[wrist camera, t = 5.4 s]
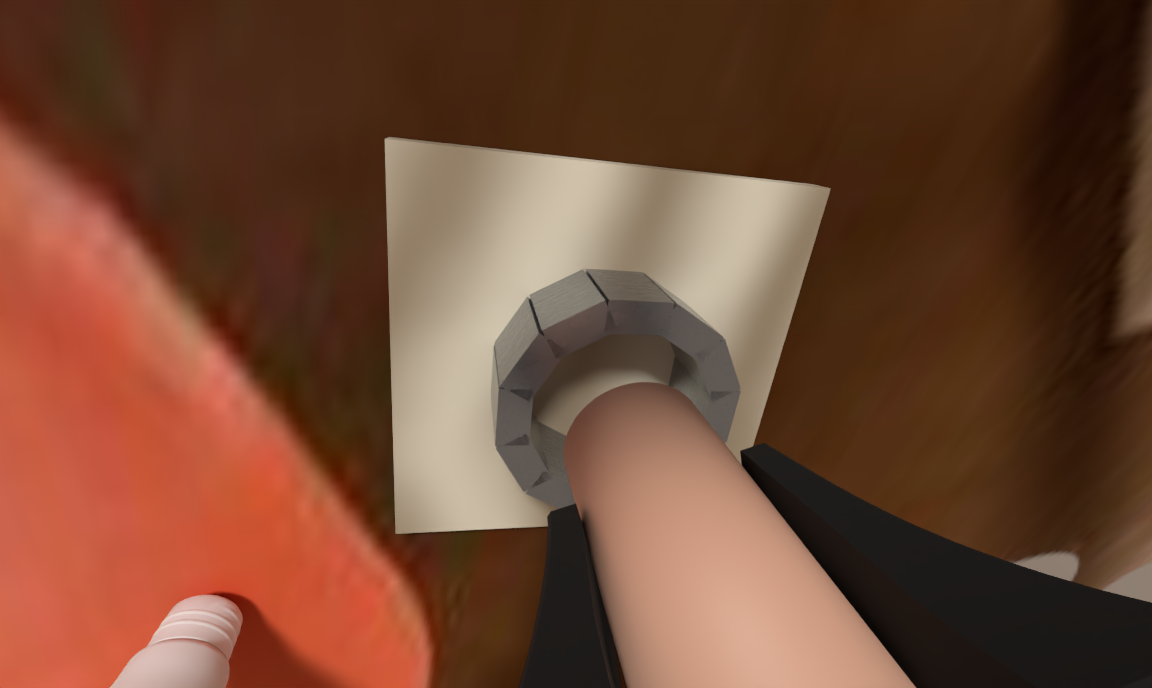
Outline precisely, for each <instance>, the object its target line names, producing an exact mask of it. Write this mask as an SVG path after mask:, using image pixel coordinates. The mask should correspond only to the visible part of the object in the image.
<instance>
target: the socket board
mask: <svg viewBox="0 0 1152 688" xmlns="http://www.w3.org/2000/svg"><path fill="white" fill-rule="evenodd" d="M385 165H386V202H387V238H388V274H389V310H390V346H391V382H392V419H393V455H394V491H395V527H396V534H401V533H421V532H442V531H462V530H482V529H502V528H522V527H542V526H548V521H547V516H548V515H549V513H550V512H551V511H553V510H557V509H560V508H563V507H566V506H569V505H572V504H575V500H574V496H573V493H572V489H571V486H570V482H569V478H568V475H567V471H566V468H565V463H564V443H565V439H566V436H567V433H568V431H569V428H570V426H571V425H572V423H573V421H574V419H575V418H576V417H577V416H578V414H579V413H580V412H581V411H582V410H583V409H584V408H585V407H586V405H588V404H589V403H590V402H591V401H592V400H594V399H595V398H597V397H598V396H600V395H601V394H603V393H605V392H607V391H609V390H611V389H613V388H616V387H619V386H621V385H626V384H630V383H637V382H654V383H660V384H664V385H668V386H670V387H673V388H675V389H677V390H679V391H680V392H682V393H683V394H684V395H686V396H687V397H688V398H689V399H690V400H691V401H692V403H693V404H694V405H695V406H696V407H697V409H698V410H699V411H700V413H701V414H702V415H703V416H704V418H705V419H706V420H707V422H708V423H709V424H710V425H711V427H712V428H713V429H714V430H715V432H716V433H717V434H718V436H719V437H720V438H721V439H722V441H723V442H724V443H725V444H726V446H727V447H728V448H729V450H730V451H731V452H732V453H733V455H734V456H735V457H736V459H737V460H738V461H739V462H740V464H741V454H740V451H741V450H744V449H747V448H750V447H753V444H754V440H755V437H756V434H757V431H758V427H759V424H760V421H761V417H762V414H763V411H764V407H765V404H766V401H767V397H768V394H769V391H770V388H771V384H772V381H773V378H774V374H775V371H776V368H777V364H778V361H779V358H780V354H781V351H782V348H783V344H784V341H785V338H786V335H787V331H788V328H789V325H790V321H791V318H792V315H793V311H794V308H795V305H796V301H797V298H798V295H799V292H800V288H801V285H802V282H803V278H804V275H805V272H806V268H807V265H808V262H809V258H810V255H811V252H812V248H813V245H814V242H815V239H816V235H817V232H818V229H819V225H820V222H821V219H822V215H823V212H824V209H825V205H826V202H827V199H828V196H829V192H830V189H831V188H827V187H822V186H818V185H813V184H805V183H796V182H788V181H779V180H770V179H761V178H752V177H743V176H734V175H725V174H716V173H707V172H698V171H689V170H680V169H671V168H662V167H653V166H644V165H635V164H626V163H618V162H609V161H600V160H591V159H582V158H573V157H564V156H555V155H546V154H537V153H528V152H519V151H510V150H501V149H492V148H483V147H474V146H465V145H456V144H448V143H439V142H430V141H421V140H412V139H403V138H394V137H388V138H386V139H385ZM741 465H742V464H741Z"/></svg>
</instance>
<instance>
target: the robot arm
mask: <svg viewBox="0 0 1152 688" xmlns="http://www.w3.org/2000/svg"><path fill="white" fill-rule="evenodd" d="M740 454H741V464H742V466H743V467H744V469H745V470H746V471H747V473H748V474H749V475H750V476H751V478H752V479H753V480H754V481H755V483H756V484H757V485H758V487H759V488H760V489H761V490H762V492H763V493H764V494H765V496H766V497H767V498H768V499H769V501H770V502H771V503H772V504H773V506H774V507H775V508H776V510H777V511H778V512H779V513H780V515H781V516H782V517H783V518H784V520H785V521H786V522H787V524H788V525H789V526H790V527H791V529H792V530H793V531H794V533H795V534H796V535H797V536H798V538H799V539H800V540H801V541H802V543H803V544H804V545H805V547H806V548H807V549H808V550H809V552H810V553H811V554H812V556H813V557H814V558H815V559H816V561H817V562H818V563H819V564H820V566H821V567H822V568H823V570H824V571H825V572H826V573H827V575H828V576H829V577H830V578H831V580H832V581H833V582H834V584H835V585H836V586H837V587H838V589H839V590H840V591H841V593H842V594H843V595H844V596H845V598H846V599H847V600H848V601H849V603H850V604H851V605H852V607H853V608H854V609H855V610H856V612H857V613H858V614H859V615H860V617H861V618H862V619H863V621H864V622H865V623H866V624H867V626H868V627H869V628H870V630H871V631H872V632H873V633H874V635H875V636H876V637H877V638H878V640H879V641H880V642H881V644H882V645H883V646H884V647H885V649H886V650H887V651H888V652H889V654H890V655H891V656H892V658H893V659H894V660H895V661H896V663H897V664H898V665H899V667H900V668H901V669H902V670H903V672H904V673H905V674H906V675H907V677H908V678H909V679H910V681H911V682H912V683H913V684H914V686H915V687H916V688H1152V603H1151V602H1147V601H1142V600H1138V599H1134V598H1130V597H1126V596H1122V595H1118V594H1114V593H1110V592H1106V591H1102V590H1099V589H1095V588H1091V587H1088V586H1084V585H1081V584H1078V583H1074V582H1071V581H1067V580H1064V579H1061V578H1057V577H1054V576H1050V575H1047V574H1044V573H1041V572H1038V571H1035V570H1031V569H1028V568H1025V567H1022V566H1019V565H1016V564H1013V563H1010V562H1008V561H1005V560H1002V559H999V558H996V557H994V556H991V555H988V554H985V553H982V552H979V551H977V550H974V549H971V548H969V547H966V546H964V545H961V544H958V543H956V542H953V541H951V540H948V539H946V538H944V537H941V536H939V535H937V534H934V533H932V532H930V531H927V530H925V529H922V528H920V527H918V526H915V525H913V524H911V523H909V522H907V521H904V520H902V519H900V518H898V517H896V516H894V515H892V514H890V513H888V512H886V511H884V510H882V509H880V508H878V507H876V506H874V505H872V504H870V503H868V502H866V501H864V500H862V499H860V498H858V497H856V496H855V495H853V494H851V493H849V492H847V491H845V490H844V489H842V488H840V487H838V486H836V485H835V484H833V483H831V482H829V481H828V480H826V479H824V478H822V477H821V476H819V475H817V474H815V473H814V472H812V471H810V470H809V469H807V468H805V467H804V466H802V465H800V464H799V463H797V462H795V461H794V460H792V459H790V458H789V457H787V456H785V455H784V454H782V453H780V452H779V451H777V450H775V449H774V448H772V447H770V446H769V445H767V444H765V443H762V444H759V445H756V446H753V447H750V448H747V449H744V450H741V451H740ZM547 521H548V539H547V552H546V563H545V570H544V577H543V584H542V591H541V597H540V602H539V607H538V612H537V617H536V621H535V626H534V631H533V636H532V640H531V644H530V648H529V652H528V656H527V660H526V663H525V667H524V670H523V674H522V677H521V681H520V684H519V687H518V688H622V684H621V678H620V673H619V668H618V663H617V657H616V652H615V647H614V642H613V637H612V634H611V630H610V626H609V623H608V619H607V616H606V612H605V608H604V605H603V601H602V597H601V594H600V590H599V587H598V583H597V579H596V575H595V571H594V567H593V563H592V558H591V553H590V550H589V546H588V543H587V539H586V536H585V532H584V528H583V525H582V521H581V518H580V515H579V511H578V508H577V505H576V503H575V504H572V505H569V506H566V507H563V508H560V509H557V510H553V511H551V512H550V513H549V515H548V516H547Z"/></svg>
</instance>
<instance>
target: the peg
mask: <svg viewBox="0 0 1152 688" xmlns="http://www.w3.org/2000/svg"><path fill="white" fill-rule="evenodd" d="M564 463H565V468H566V471H567V475H568V478H569V482H570V486H571V489H572V493H573V496H574V500H575V503H576V505H577V508H578V511H579V515H580V518H581V521H582V525H583V528H584V532H585V536H586V539H587V543H588V546H589V550H590V553H591V558H592V563H593V567H594V571H595V575H596V579H597V583H598V587H599V590H600V594H601V597H602V601H603V605H604V608H605V612H606V616H607V619H608V623H609V626H610V630H611V634H612V637H613V641H614V644H615V648H616V652H617V655H618V659H619V662H620V666H621V670H622V673H623V677H624V681H625V684H626V688H916V687H915V686H914V684H913V683H912V682H911V681H910V679H909V678H908V677H907V675H906V674H905V673H904V672H903V670H902V669H901V668H900V667H899V665H898V664H897V663H896V661H895V660H894V659H893V658H892V656H891V655H890V654H889V652H888V651H887V650H886V649H885V647H884V646H883V645H882V644H881V642H880V641H879V640H878V638H877V637H876V636H875V635H874V633H873V632H872V631H871V630H870V628H869V627H868V626H867V624H866V623H865V622H864V621H863V619H862V618H861V617H860V615H859V614H858V613H857V612H856V610H855V609H854V608H853V607H852V605H851V604H850V603H849V601H848V600H847V599H846V598H845V596H844V595H843V594H842V593H841V591H840V590H839V589H838V587H837V586H836V585H835V584H834V582H833V581H832V580H831V578H830V577H829V576H828V575H827V573H826V572H825V571H824V570H823V568H822V567H821V566H820V564H819V563H818V562H817V561H816V559H815V558H814V557H813V556H812V554H811V553H810V552H809V550H808V549H807V548H806V547H805V545H804V544H803V543H802V541H801V540H800V539H799V538H798V536H797V535H796V534H795V533H794V531H793V530H792V529H791V527H790V526H789V525H788V524H787V522H786V521H785V520H784V518H783V517H782V516H781V515H780V513H779V512H778V511H777V510H776V508H775V507H774V506H773V504H772V503H771V502H770V501H769V499H768V498H767V497H766V496H765V494H764V493H763V492H762V490H761V489H760V488H759V487H758V485H757V484H756V483H755V481H754V480H753V479H752V478H751V476H750V475H749V474H748V473H747V471H746V470H745V469H744V467H743V466H742V465H741V464H740V462H739V461H738V460H737V459H736V457H735V456H734V455H733V453H732V452H731V451H730V450H729V448H728V447H727V446H726V444H725V443H724V442H723V441H722V439H721V438H720V437H719V436H718V434H717V433H716V432H715V430H714V429H713V428H712V427H711V425H710V424H709V423H708V422H707V420H706V419H705V418H704V416H703V415H702V414H701V413H700V411H699V410H698V409H697V407H696V406H695V405H694V404H693V403H692V401H691V400H690V399H689V398H688V397H687V396H686V395H684V394H683V393H682V392H680V391H679V390H677V389H675V388H673V387H670V386H668V385H664V384H660V383H654V382H637V383H630V384H626V385H621V386H619V387H616V388H613V389H611V390H609V391H607V392H605V393H603V394H601V395H600V396H598V397H597V398H595V399H594V400H592V401H591V402H590V403H589V404H588V405H586V407H585V408H584V409H583V410H582V411H581V412H580V413H579V414H578V416H577V417H576V418H575V419H574V421H573V423H572V425H571V426H570V428H569V431H568V433H567V436H566V439H565V443H564Z"/></svg>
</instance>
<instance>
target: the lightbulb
mask: <svg viewBox="0 0 1152 688" xmlns="http://www.w3.org/2000/svg"><path fill="white" fill-rule="evenodd" d="M242 622H243V617H242V613H241V611H240V610H239V608H238V606H237V605H236V604H235V603H233V602H232V601H231V600H229V599H227V598H224V597H221V596H218V595H197V596H193V597H190V598H187V599H185V600H183V601H181V602H179V603H177V604H176V605H175V606H174V607H173V608H172V609H171V611H170V612H169V614H168V615H167V617H166V618H165V619H164V620H163V622H162V623H161V624H160V626H159V629H158V630H157V631H156V632H155V633H154V635H153V637H152V639H151V641H150V642H149V644H148V645H147V647H145V648H144V649H142V650H140V651H139V652H138V653H137V654H136V655H134V656H133V657H132V658H131V659H130V661H129V662H128V664H127V665H126V666H125V668H124V669H123V671H122V672H121V674H120V675H119V677H118V678H117V679H116V681H115V682H114V683H113V684H112V685H111V687H110V688H226V685H227V682H228V679H229V672H230V666H229V662H228V661H229V659H230V657H231V654H232V652H233V648H234V646H235V643H236V641H237V637H238V635H239V632H240V629H241V625H242Z"/></svg>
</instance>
